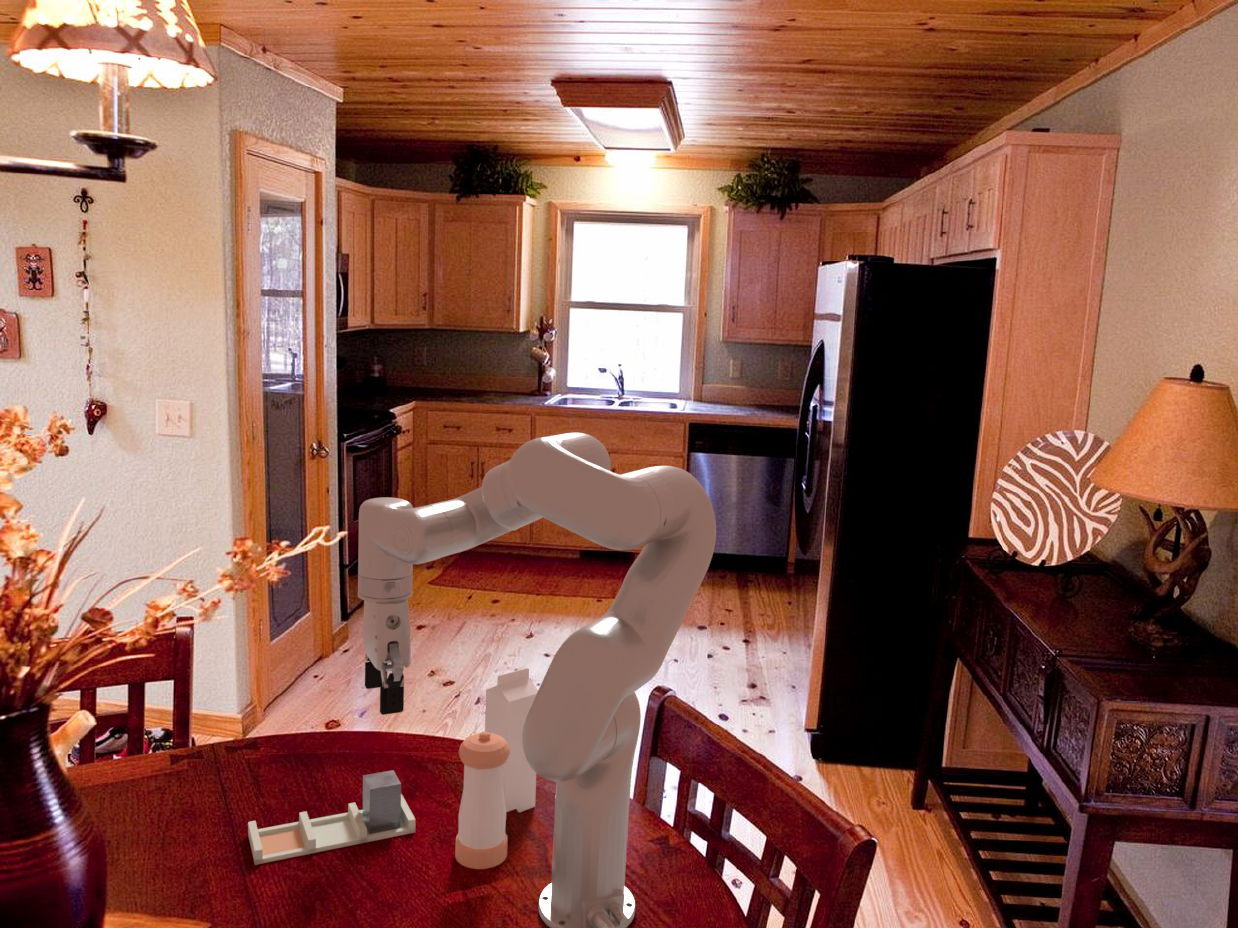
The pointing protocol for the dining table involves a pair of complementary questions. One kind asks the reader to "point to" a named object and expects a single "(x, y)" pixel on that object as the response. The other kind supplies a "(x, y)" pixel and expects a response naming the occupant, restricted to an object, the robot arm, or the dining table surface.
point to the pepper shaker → (482, 802)
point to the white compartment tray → (319, 834)
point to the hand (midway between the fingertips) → (383, 699)
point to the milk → (513, 735)
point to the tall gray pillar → (381, 802)
